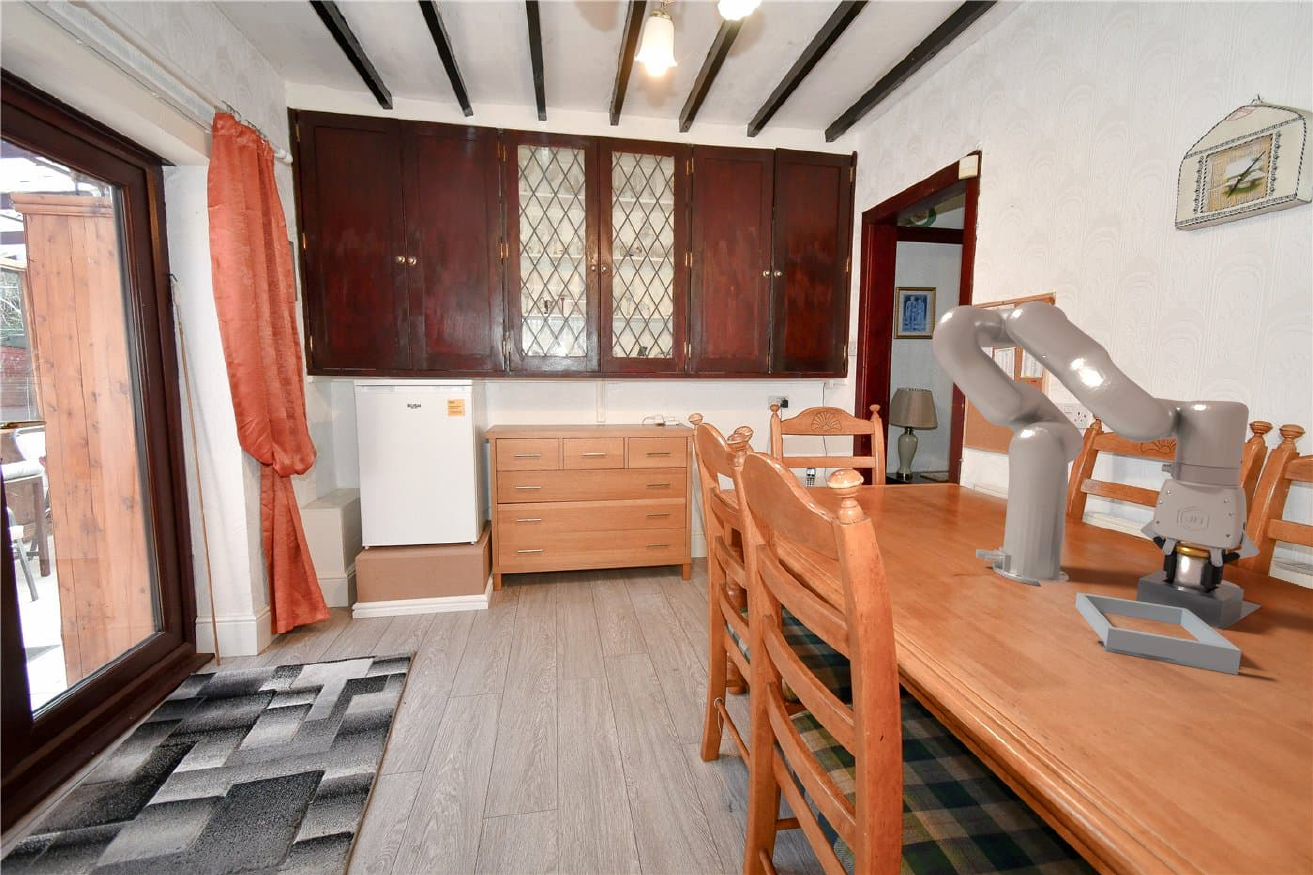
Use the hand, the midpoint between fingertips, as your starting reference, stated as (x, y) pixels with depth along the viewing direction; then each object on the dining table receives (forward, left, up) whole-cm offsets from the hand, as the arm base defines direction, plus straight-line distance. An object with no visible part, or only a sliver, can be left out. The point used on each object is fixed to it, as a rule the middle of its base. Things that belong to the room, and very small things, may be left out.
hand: (1190, 580), depth 85 cm
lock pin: (0, 0, -5) cm, 5 cm away
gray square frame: (-10, -14, -6) cm, 18 cm away
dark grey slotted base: (+3, +4, -6) cm, 8 cm away
